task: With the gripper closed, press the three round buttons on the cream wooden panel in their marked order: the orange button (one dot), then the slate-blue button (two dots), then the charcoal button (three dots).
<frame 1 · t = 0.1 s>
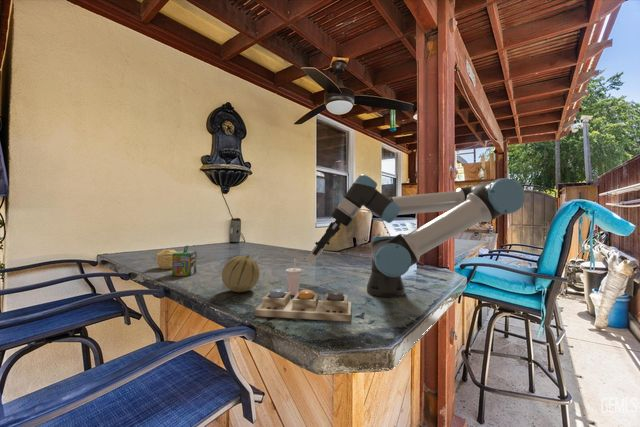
hand: (311, 258, 101), 15 cm above the table, tool tilted 35°, fingers open, 13 cm apart
chalk box: (184, 274, 140), on the table
smoothie: (293, 294, 108), on the table
cantaloupe: (240, 291, 111), on the table
orange button: (305, 295, 90), point 5 cm above the table, slide at 0.0 cm
button panel: (305, 311, 89), on the table
blue button: (277, 294, 92), point 5 cm above the table, slide at 0.0 cm
charcoal button: (335, 297, 89), point 5 cm above the table, slide at 0.0 cm
sculpture: (168, 268, 154), on the table
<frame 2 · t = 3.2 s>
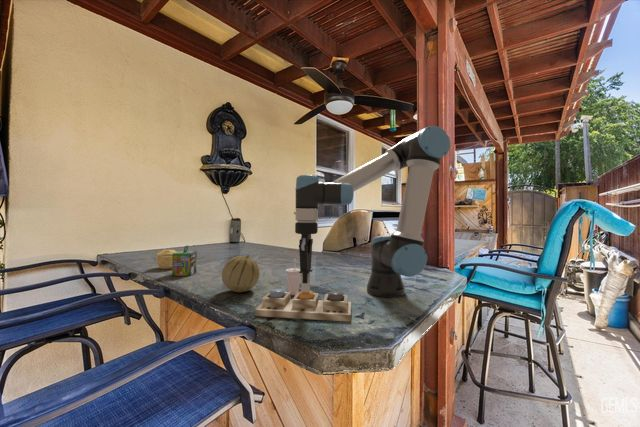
hand: (305, 291, 90), 6 cm above the table, tool pointing down, fingers closed
orange button: (305, 296, 90), point 5 cm above the table, slide at 0.2 cm, touching gripper
everything else where it was.
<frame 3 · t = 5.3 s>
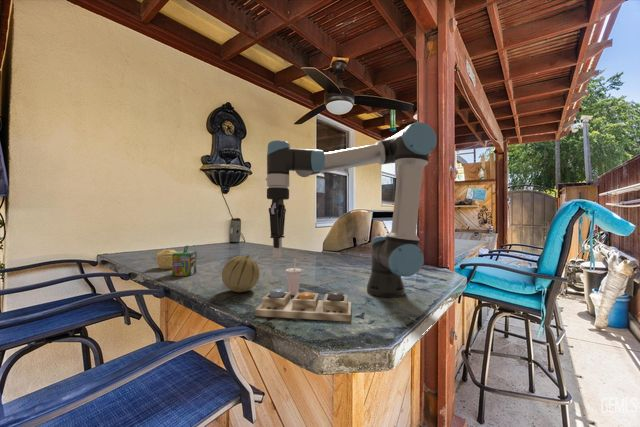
hand: (277, 257, 92), 17 cm above the table, tool pointing down, fingers closed
orange button: (305, 298, 90), point 4 cm above the table, slide at 0.8 cm
everything else where it was.
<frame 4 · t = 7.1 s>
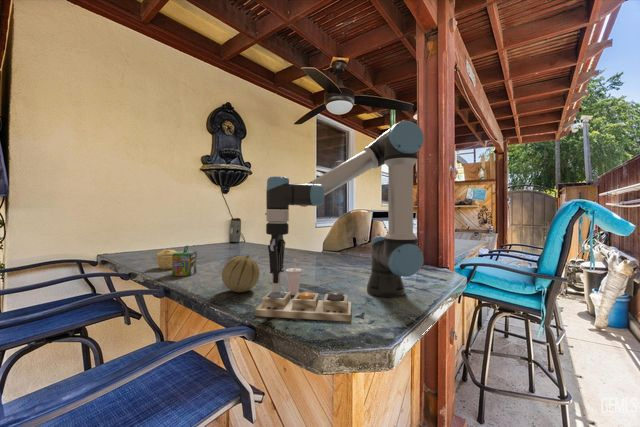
hand: (276, 291, 92), 6 cm above the table, tool pointing down, fingers closed
blue button: (277, 296, 92), point 4 cm above the table, slide at 0.6 cm, touching gripper
everything else where it was.
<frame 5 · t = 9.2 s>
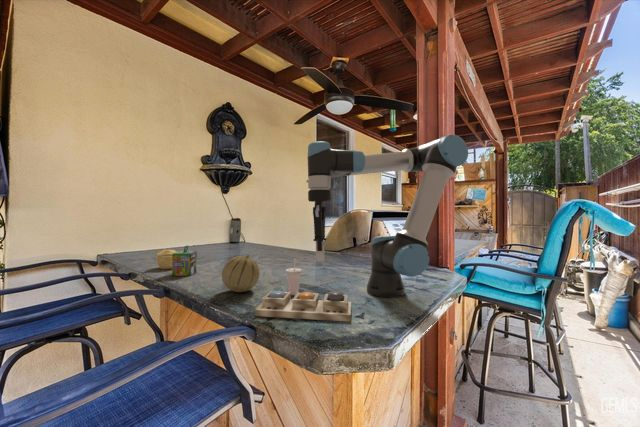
hand: (320, 260, 90), 17 cm above the table, tool pointing down, fingers closed
blue button: (277, 296, 92), point 4 cm above the table, slide at 0.8 cm
everything else where it was.
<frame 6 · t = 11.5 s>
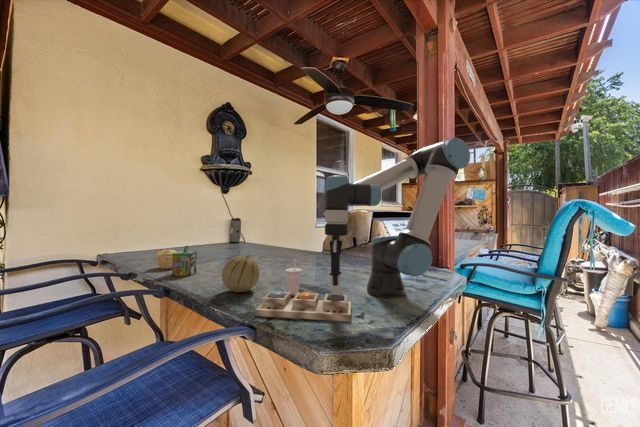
hand: (335, 294, 89), 6 cm above the table, tool pointing down, fingers closed
charcoal button: (335, 298, 89), point 4 cm above the table, slide at 0.5 cm, touching gripper
everything else where it was.
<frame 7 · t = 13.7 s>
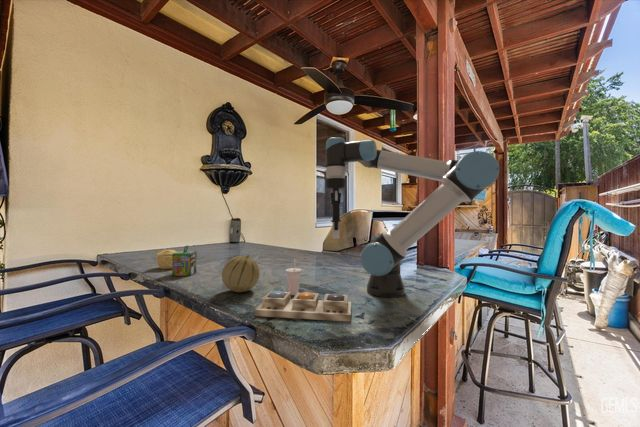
hand: (336, 238, 106), 23 cm above the table, tool pointing down, fingers closed
charcoal button: (335, 299, 89), point 4 cm above the table, slide at 0.8 cm
everything else where it was.
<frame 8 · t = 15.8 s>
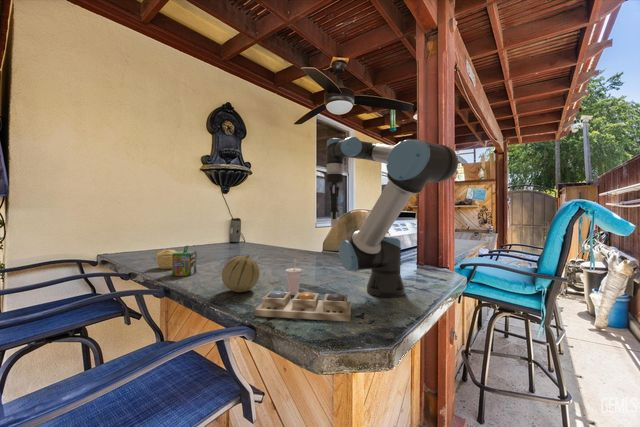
hand: (334, 226, 122), 26 cm above the table, tool pointing down, fingers closed
nothing on the table moved.
at the end: orange button slide at 0.8 cm; blue button slide at 0.8 cm; charcoal button slide at 0.8 cm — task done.
